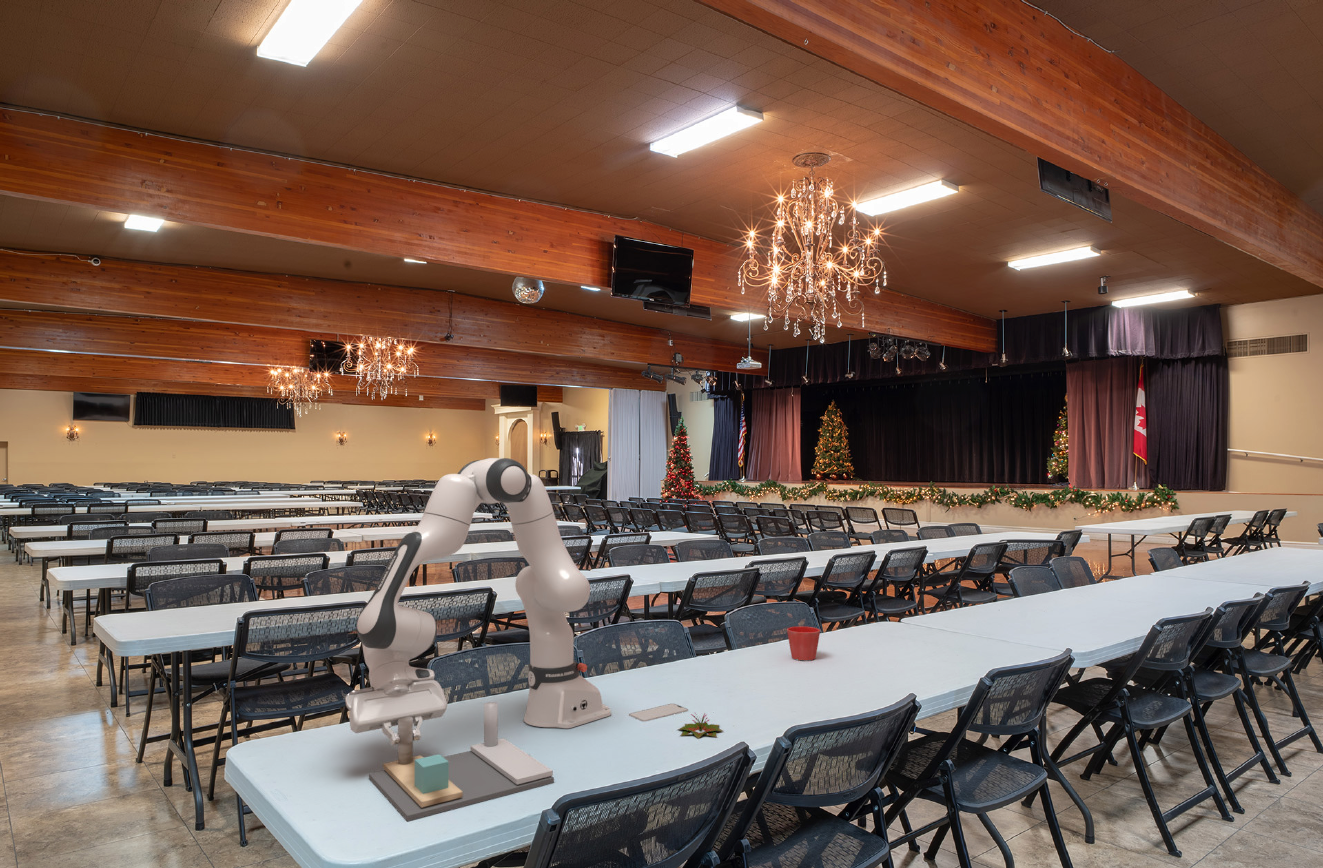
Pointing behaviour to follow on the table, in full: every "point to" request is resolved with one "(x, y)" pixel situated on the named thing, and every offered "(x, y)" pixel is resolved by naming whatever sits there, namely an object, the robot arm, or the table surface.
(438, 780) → the teal block
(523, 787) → the lane mat
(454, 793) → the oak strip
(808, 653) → the flower pot
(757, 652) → the table surface
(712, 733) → the lily flower
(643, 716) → the smartphone
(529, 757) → the pale board with post
